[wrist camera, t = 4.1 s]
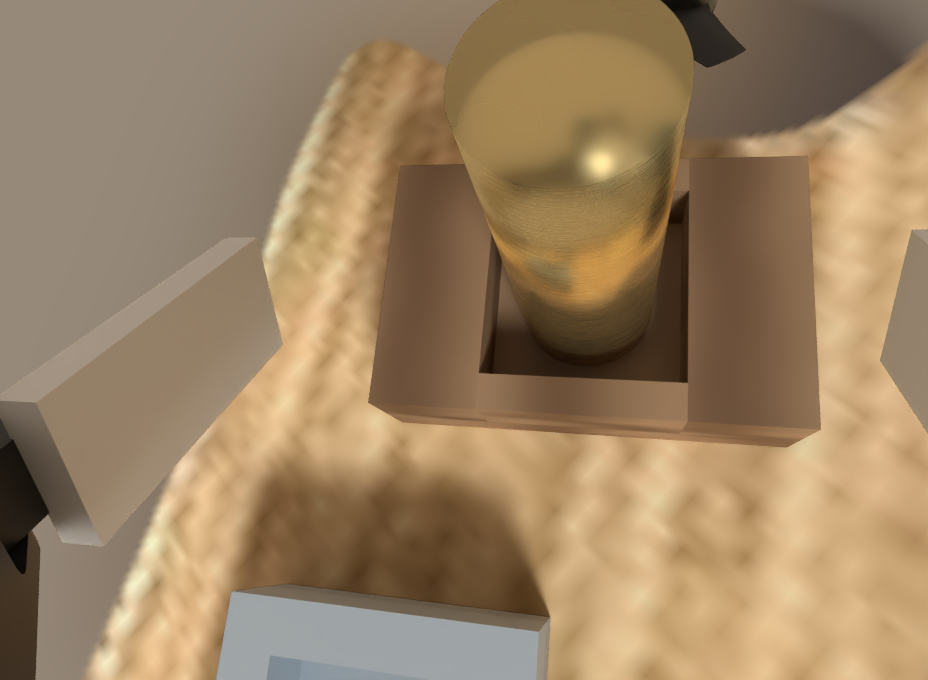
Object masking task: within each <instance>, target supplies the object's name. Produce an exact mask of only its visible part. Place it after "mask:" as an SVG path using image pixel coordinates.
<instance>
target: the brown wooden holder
mask: <svg viewBox="0 0 928 680" xmlns="http://www.w3.org/2000/svg"><path fill="white" fill-rule="evenodd" d="M368 403H370V404H372V405H373V406H375V407H377V408H379V409H380V410H382V411H384V412H386V413H387V414H389V415H391V416H393V417H394V418H396V419H398V420H400V421H401V422H407V423H422V424H438V425H453V426H468V427H484V428H499V429H514V430H530V431H545V432H560V433H575V434H591V435H606V436H621V437H637V438H652V439H667V440H683V441H698V442H713V443H729V444H744V445H759V446H775V447H788V446H790V445H792V444H794V443H796V442H798V441H800V440H802V439H804V438H805V437H807V436H809V435H811V434H813V433H815V432H817V431H819V430H821V424H820V402H819V381H818V359H817V338H816V316H815V295H814V274H813V252H812V231H811V209H810V188H809V166H808V156H782V157H741V158H700V159H679V164H678V169H677V175H676V180H675V186H674V191H673V197H672V202H671V208H670V213H669V219H668V225H667V230H666V236H665V241H664V247H663V252H662V258H661V263H660V269H659V274H658V280H657V285H656V291H655V296H654V302H653V307H652V313H651V318H650V322H649V325H648V328H647V330H646V332H645V334H644V336H643V337H642V339H641V340H640V341H639V343H638V344H637V345H636V346H635V347H634V348H633V349H632V350H631V351H630V352H628V353H627V354H626V355H624V356H623V357H621V358H619V359H617V360H615V361H613V362H610V363H607V364H604V365H599V366H590V367H584V366H575V365H570V364H567V363H564V362H561V361H559V360H557V359H555V358H553V357H552V356H550V355H549V354H547V353H546V352H545V351H544V350H543V349H542V348H541V347H540V346H539V345H538V344H537V343H536V341H535V340H534V338H533V337H532V335H531V333H530V331H529V329H528V326H527V324H526V321H525V318H524V316H523V313H522V311H521V308H520V306H519V303H518V300H517V298H516V295H515V293H514V290H513V287H512V285H511V282H510V280H509V277H508V274H507V272H506V269H505V267H504V264H503V262H502V259H501V256H500V254H499V251H498V249H497V246H496V243H495V241H494V238H493V236H492V233H491V230H490V228H489V225H488V223H487V220H486V217H485V215H484V212H483V210H482V207H481V205H480V202H479V199H478V197H477V194H476V192H475V189H474V186H473V184H472V181H471V179H470V176H469V173H468V171H467V168H466V166H465V164H454V165H412V166H400V172H399V180H398V187H397V194H396V202H395V209H394V217H393V224H392V231H391V239H390V246H389V253H388V261H387V268H386V276H385V283H384V290H383V298H382V305H381V313H380V320H379V327H378V335H377V342H376V350H375V357H374V364H373V372H372V379H371V386H370V394H369V401H368Z"/></svg>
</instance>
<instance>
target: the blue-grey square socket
mask: <svg viewBox="0 0 928 680" xmlns="http://www.w3.org/2000/svg"><path fill="white" fill-rule="evenodd" d="M549 632H550V617H546V616H538V615H530V614H522V613H514V612H506V611H498V610H490V609H482V608H475V607H467V606H459V605H451V604H443V603H435V602H427V601H419V600H411V599H404V598H396V597H388V596H380V595H372V594H364V593H356V592H348V591H340V590H333V589H325V588H317V587H309V586H301V585H293V584H282V585H274V586H267V587H259V588H252V589H245V590H237V591H232V592H231V598H230V604H229V609H228V615H227V620H226V626H225V632H224V637H223V643H222V649H221V654H220V660H219V666H218V671H217V677H216V680H547V667H548V650H549Z"/></svg>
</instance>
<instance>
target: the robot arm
mask: <svg viewBox="0 0 928 680" xmlns="http://www.w3.org/2000/svg"><path fill="white" fill-rule="evenodd" d="M282 345H283V343H282V339H281V335H280V331H279V327H278V323H277V318H276V314H275V310H274V306H273V302H272V298H271V294H270V290H269V285H268V281H267V277H266V273H265V269H264V265H263V261H262V257H261V253H260V248H259V244H258V240H257V237H240V238H239V237H237V238H236V237H235V238H234V237H233V238H225V239H223V240H222V241H220V242H219V243H218V244H216V245H215V246H213V247H212V248H210V249H209V250H207V251H206V252H205V253H203V254H202V255H200V256H199V257H198V258H196V259H194V260H193V261H192V262H190V263H189V264H187V265H186V266H184V267H183V268H181V269H180V270H179V271H177V272H176V273H174V274H173V275H171V276H170V277H169V278H167V279H166V280H164V281H163V282H161V283H160V284H158V285H157V286H155V287H154V288H153V289H151V290H150V291H148V292H147V293H145V294H144V295H142V296H141V297H140V298H138V299H137V300H135V301H134V302H133V303H131V304H129V305H128V306H127V307H125V308H124V309H122V310H121V311H119V312H118V313H116V314H115V315H114V316H112V317H111V318H109V319H108V320H106V321H105V322H104V323H102V324H101V325H99V326H98V327H96V328H95V329H94V330H92V331H90V332H89V333H88V334H86V335H85V336H83V337H82V338H80V339H79V340H77V341H76V342H75V343H73V344H72V345H70V346H69V347H67V348H66V349H64V350H63V351H62V352H60V353H59V354H57V355H56V356H54V357H53V358H51V359H50V360H49V361H47V362H46V363H44V364H43V365H41V366H40V367H38V368H37V369H36V370H34V371H33V372H31V373H30V374H28V375H27V376H25V377H24V378H23V379H21V380H20V381H18V382H17V383H15V384H14V385H13V386H11V387H10V388H8V389H7V390H5V391H4V392H2V393H1V394H0V680H35V676H36V650H37V623H38V622H37V621H38V596H39V569H40V547H39V544H38V541H37V539H36V537H35V535H34V533H33V531H32V529H33V528H34V527H35V526H36V525H37V524H38V523H39V522H40V521H41V520H42V519H43V518H45V517H46V516H47V515H49V517H50V519H51V521H52V522H53V525H54V527H55V528H56V531H57V533H58V534H59V536H60V539H61V540H62V542H64V543H74V544H83V545H93V546H102V547H103V546H104V545H105V544H106V542H108V540H109V539H110V538H111V537H112V536H113V535H114V534H115V533H116V531H117V530H118V529H119V528H120V527H121V526H122V525H123V523H124V522H125V521H126V520H127V519H128V518H129V517H130V516H131V515H132V513H133V512H134V511H135V510H136V509H137V508H138V507H139V506H140V504H141V503H142V502H143V501H144V500H145V499H146V498H147V497H148V495H149V494H150V493H151V492H152V491H153V490H154V489H155V488H156V486H157V485H158V484H159V483H160V482H161V481H162V480H163V479H164V477H165V476H166V475H167V474H168V473H169V472H170V471H171V470H172V469H173V467H174V466H175V465H176V464H177V463H178V462H179V461H180V460H181V458H182V457H183V456H184V455H185V454H186V453H187V452H188V451H189V449H190V448H191V447H192V446H193V445H194V444H195V443H196V442H197V440H198V439H199V438H200V437H201V436H202V435H203V434H204V433H205V431H206V430H207V429H208V428H209V427H210V426H211V425H212V424H213V422H214V421H215V420H216V419H217V418H218V417H219V416H220V415H221V413H222V412H223V411H224V410H225V409H226V408H227V407H228V406H229V404H230V403H231V402H232V401H233V400H234V399H235V398H236V397H237V395H238V394H239V393H240V392H241V391H242V390H243V389H244V388H245V386H246V385H247V384H248V383H249V382H250V381H251V380H252V379H253V377H254V376H255V375H256V374H257V373H258V372H259V371H260V370H261V368H262V367H263V366H264V365H265V364H266V363H267V362H268V361H269V360H270V358H271V357H272V356H273V355H274V354H275V353H276V352H277V351H278V349H279V348H280V347H281V346H282ZM880 361H881V362H882V364H883V366H884V367H885V369H886V370H887V372H888V373H889V375H890V376H891V378H892V379H893V381H894V382H895V384H896V386H897V387H898V389H899V390H900V392H901V393H902V395H903V396H904V398H905V399H906V401H907V402H908V404H909V405H910V407H911V409H912V410H913V412H914V413H915V415H916V416H917V418H918V419H919V421H920V422H921V424H922V425H923V427H924V429H925V430H926V432H927V433H928V230H912V231H911V235H910V239H909V243H908V247H907V252H906V256H905V260H904V264H903V268H902V272H901V276H900V280H899V285H898V289H897V293H896V297H895V301H894V305H893V309H892V313H891V318H890V322H889V326H888V330H887V334H886V338H885V342H884V346H883V351H882V355H881V359H880Z"/></svg>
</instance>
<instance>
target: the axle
mask: <svg viewBox="0 0 928 680" xmlns="http://www.w3.org/2000/svg"><path fill="white" fill-rule="evenodd" d="M693 81H694V59H693V51H692V48H691V44H690V41H689V38H688V36H687V34H686V32H685V30H684V28H683V26H682V24H681V23H680V21H679V20H678V18H677V17H676V16H675V14H674V13H673V12H672V11H671V10H670V9H669V8H668V7H667V6H666V5H665V4H664V3H663V2H662V1H660V0H500V1H498V2H497V3H495V4H494V5H493V6H491V7H490V8H489V9H488V10H486V11H485V12H484V13H483V14H482V15H481V16H480V17H479V18H478V19H477V20H476V21H475V22H474V23H473V24H472V25H471V26H470V27H469V29H468V30H467V31H466V32H465V34H464V35H463V36H462V38H461V40H460V41H459V43H458V45H457V46H456V48H455V50H454V53H453V55H452V57H451V59H450V62H449V65H448V69H447V72H446V78H445V84H444V103H445V109H446V115H447V118H448V121H449V124H450V127H451V129H452V132H453V135H454V137H455V140H456V142H457V145H458V148H459V150H460V153H461V155H462V158H463V161H464V163H465V166H466V168H467V171H468V173H469V176H470V179H471V181H472V184H473V186H474V189H475V192H476V194H477V197H478V199H479V202H480V205H481V207H482V210H483V212H484V215H485V217H486V220H487V223H488V225H489V228H490V230H491V233H492V236H493V238H494V241H495V243H496V246H497V249H498V251H499V254H500V256H501V259H502V262H503V264H504V267H505V269H506V272H507V274H508V277H509V280H510V282H511V285H512V287H513V290H514V293H515V295H516V298H517V300H518V303H519V306H520V308H521V311H522V313H523V316H524V318H525V321H526V324H527V326H528V329H529V331H530V333H531V335H532V337H533V338H534V340H535V341H536V343H537V344H538V345H539V346H540V347H541V348H542V349H543V350H544V351H545V352H546V353H547V354H549V355H550V356H552V357H553V358H555V359H557V360H559V361H561V362H564V363H567V364H570V365H575V366H584V367H590V366H599V365H604V364H607V363H610V362H613V361H615V360H617V359H619V358H621V357H623V356H624V355H626V354H627V353H628V352H630V351H631V350H632V349H633V348H634V347H635V346H636V345H637V344H638V343H639V341H640V340H641V339H642V337H643V336H644V334H645V332H646V330H647V328H648V325H649V322H650V318H651V313H652V307H653V302H654V296H655V291H656V285H657V280H658V274H659V269H660V263H661V258H662V252H663V247H664V241H665V236H666V230H667V225H668V219H669V213H670V208H671V202H672V197H673V191H674V186H675V180H676V175H677V169H678V164H679V158H680V153H681V147H682V142H683V136H684V131H685V125H686V120H687V114H688V109H689V103H690V98H691V92H692V87H693Z"/></svg>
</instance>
